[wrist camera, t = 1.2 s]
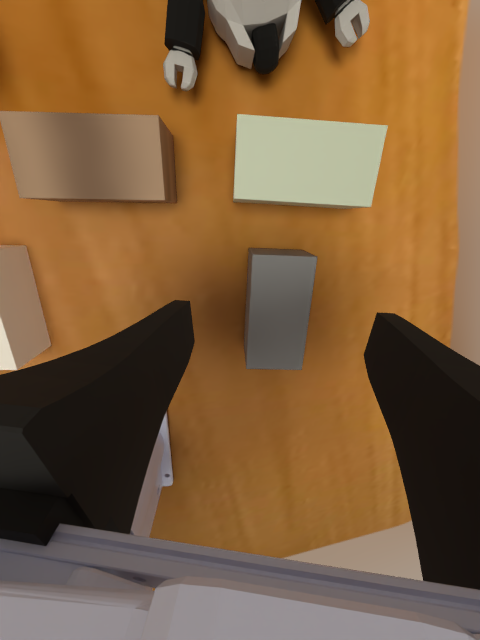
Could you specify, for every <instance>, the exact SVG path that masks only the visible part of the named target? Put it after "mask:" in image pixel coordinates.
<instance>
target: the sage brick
mask: <svg viewBox="0 0 480 640" xmlns="http://www.w3.org/2000/svg"><path fill="white" fill-rule="evenodd" d="M387 127H388V126H386V125H373V124H360V123H347V122H334V121H321V120H308V119H295V118H282V117H269V116H256V115H243V114H237V128H236V148H235V172H234V195H233V202H243V203H259V204H275V205H291V206H308V207H324V208H340V209H350V208H363V207H371V204H372V199H373V194H374V189H375V185H376V180H377V175H378V170H379V165H380V160H381V156H382V151H383V146H384V141H385V136H386V131H387Z"/></svg>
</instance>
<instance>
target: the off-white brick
mask: <svg viewBox="0 0 480 640" xmlns="http://www.w3.org/2000/svg"><path fill="white" fill-rule="evenodd" d="M50 346H51V342H50V338H49V334H48V331H47V327H46V323H45V319H44V315H43V311H42V307H41V303H40V299H39V295H38V291H37V287H36V283H35V279H34V275H33V271H32V267H31V263H30V259H29V256H28V252H27V248H26V245H0V370H18V369H19V368H20V367H22V366H23V365H25V364H26V363H27V362H29V361H30V360H32V359H33V358H34V357H36V356H37V355H39V354H40V353H41V352H43V351H44V350H46V349H47V348H48V347H50Z"/></svg>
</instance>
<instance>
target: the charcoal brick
mask: <svg viewBox="0 0 480 640" xmlns="http://www.w3.org/2000/svg"><path fill="white" fill-rule="evenodd" d="M316 263H317V257H316V256H314V255H312V254H310V253H308V252H306V251H304V250H293V249H267V248H249V254H248V274H247V294H246V313H245V333H244V351H245V361H246V369H284V370H302V364H303V357H304V350H305V342H306V335H307V328H308V321H309V314H310V306H311V299H312V292H313V285H314V277H315V270H316Z"/></svg>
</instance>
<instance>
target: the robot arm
mask: <svg viewBox="0 0 480 640" xmlns="http://www.w3.org/2000/svg"><path fill="white" fill-rule="evenodd" d="M194 342H195V341H194V333H193V324H192V315H191V307H190V301H180V300H175V301H173V302H171V303H169V304H167V305H165V306H164V307H162V308H160V309H159V310H157V311H156V312H154V313H152V314H151V315H149V316H147V317H146V318H144V319H142V320H141V321H139V322H137V323H135V324H134V325H132V326H130V327H128V328H126V329H124V330H123V331H121V332H119V333H117V334H115V335H113V336H111V337H109V338H107V339H105V340H103V341H101V342H98V343H96V344H94V345H91V346H89V347H87V348H84V349H82V350H79V351H76V352H73V353H71V354H68V355H65V356H63V357H60V358H57V359H54V360H51V361H48V362H45V363H42V364H38V365H35V366H32V367H28V368H25V369H21V370H17V371H14V372H10V373H6V374H2V375H0V640H480V366H479V365H477V364H475V363H474V362H472V361H470V360H469V359H467V358H465V357H463V356H462V355H460V354H458V353H457V352H455V351H453V350H452V349H450V348H448V347H447V346H445V345H444V344H442V343H441V342H439V341H437V340H436V339H434V338H433V337H431V336H430V335H428V334H427V333H425V332H424V331H422V330H421V329H419V328H418V327H416V326H414V325H413V324H411V323H410V322H408V321H407V320H405V319H403V318H402V317H400V316H398V315H396V314H393V313H377V314H376V317H375V321H374V324H373V327H372V330H371V333H370V336H369V340H368V343H367V346H366V349H365V352H364V359H365V364H366V369H367V373H368V377H369V380H370V383H371V385H372V388H373V391H374V393H375V396H376V399H377V401H378V404H379V406H380V409H381V411H382V414H383V416H384V419H385V421H386V424H387V427H388V429H389V432H390V435H391V438H392V441H393V444H394V448H395V451H396V455H397V459H398V463H399V466H400V470H401V474H402V478H403V483H404V487H405V491H406V495H407V499H408V504H409V509H410V513H411V518H412V522H413V528H414V532H415V537H416V542H417V548H418V553H419V559H420V565H421V571H422V576H423V581H420V580H414V579H407V578H401V577H395V576H388V575H382V574H375V573H369V572H363V571H357V570H351V569H344V568H338V567H332V566H325V565H319V564H313V563H306V562H300V561H294V560H287V559H281V558H275V557H269V556H262V555H256V554H250V553H243V552H237V551H231V550H224V549H218V548H212V547H205V546H199V545H193V544H186V543H180V542H174V541H168V540H161V539H155V538H149V536H150V532H151V528H152V525H153V521H154V517H155V513H156V509H157V505H158V501H159V497H160V493H161V489H162V486H170V485H172V484H173V470H172V460H171V450H170V440H169V429H168V419H167V409H168V406H169V404H170V402H171V400H172V398H173V396H174V393H175V391H176V389H177V387H178V385H179V383H180V380H181V378H182V376H183V374H184V372H185V369H186V367H187V365H188V363H189V359H190V356H191V353H192V349H193V346H194ZM152 587H153V588H156V589H155V591H152Z"/></svg>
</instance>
